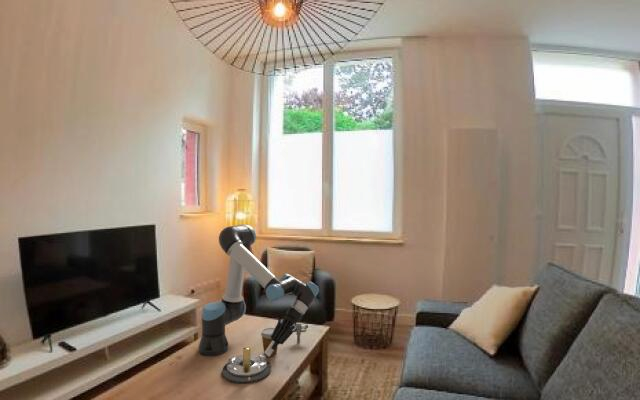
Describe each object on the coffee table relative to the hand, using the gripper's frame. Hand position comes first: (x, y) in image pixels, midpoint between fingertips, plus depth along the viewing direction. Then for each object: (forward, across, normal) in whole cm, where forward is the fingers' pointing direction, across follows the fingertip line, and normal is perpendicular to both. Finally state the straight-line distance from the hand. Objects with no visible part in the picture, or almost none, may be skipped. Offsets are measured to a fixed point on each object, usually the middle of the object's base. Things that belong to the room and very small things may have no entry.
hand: (266, 354), depth 172 cm
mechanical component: (-16, +19, -29) cm, 38 cm away
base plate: (+10, +7, -2) cm, 13 cm away
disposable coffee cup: (-2, +16, -14) cm, 21 cm away
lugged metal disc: (+9, +7, -1) cm, 12 cm away
